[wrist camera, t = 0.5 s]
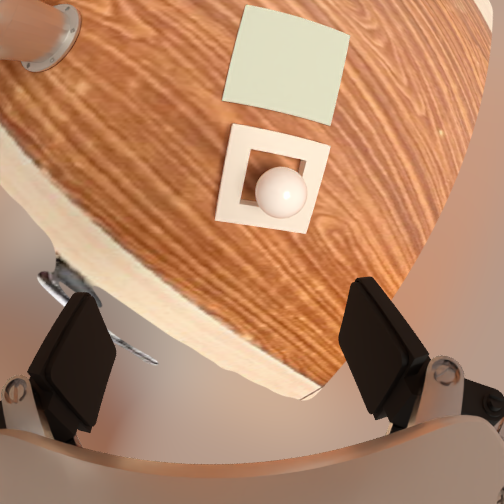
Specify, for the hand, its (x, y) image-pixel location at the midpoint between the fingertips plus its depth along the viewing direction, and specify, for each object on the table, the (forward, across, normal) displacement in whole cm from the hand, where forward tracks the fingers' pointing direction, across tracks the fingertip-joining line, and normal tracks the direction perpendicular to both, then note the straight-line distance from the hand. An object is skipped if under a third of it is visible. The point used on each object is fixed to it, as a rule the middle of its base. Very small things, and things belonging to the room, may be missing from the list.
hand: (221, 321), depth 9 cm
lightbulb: (+32, -7, +2) cm, 33 cm away
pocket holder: (+32, -7, +2) cm, 33 cm away
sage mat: (+32, -10, -16) cm, 37 cm away
